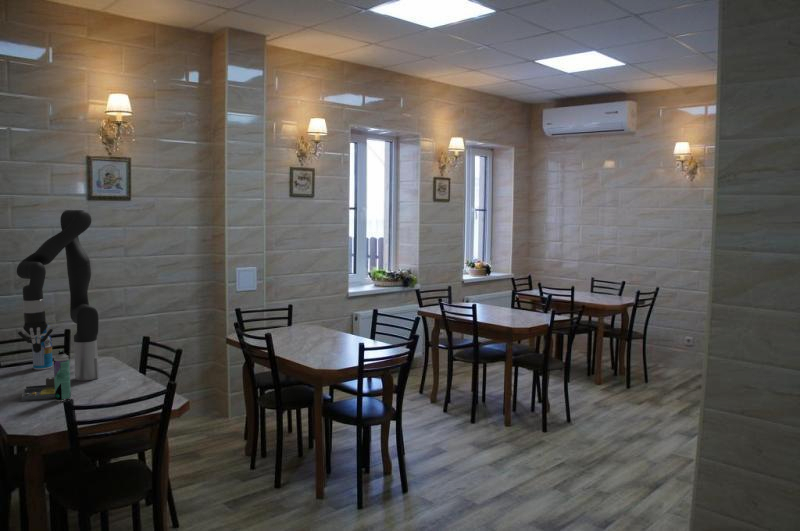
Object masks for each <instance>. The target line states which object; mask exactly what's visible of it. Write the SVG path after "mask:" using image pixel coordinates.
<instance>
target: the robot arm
mask: <svg viewBox="0 0 800 531" xmlns="http://www.w3.org/2000/svg"><path fill="white" fill-rule="evenodd" d="M59 219H60V229H61V231H59V232H58V233H56V234H54V235H53V236H52V237H50V238H48V239H46V241H44V242H43V243H42V244H41V245H40V246H39V248H37V249H36V251H35V252H33V253H31V254H30V255H28V256H27V257H25V258H24V259H23V260H22V261H20V262H19V264H18V265H17V267H16V274H17V276H18V277H19V278H20V279H24V280H29V283H28V284H27V285H24V286H23V287H22V300H23V303H22V304H23V305H22V311H23V323H24V324H23V327H22V329H20V330H19V331H18V332H17V334H18V335H19V337H21V338H22V339H23V340H24V341H25V342H27V343H28V344H32V345H33V351H34V352H35V353H39V352H40V351H41V349H42V348H41V343H42V342H44V341H45V340H46V339H47V338H48V336H49V335H50V336H51V334H52V332H53V331H54V328H53V327H50V326H49V325H48V323H47V320H46V308H45V307H46V305H45V300H44V292H43V288H44V286H45V285H44V284H45V279H46V272H47V271H46V267H45V266H46V265H49V264H50V263H51V262H53V260H54V259H56V257H57V256H58V255H59V254H60V253H61V252H62V251H63V250H64V249H65V257H66V269H67V270H66V271H67V278H68V287H69V295H70V300H69V302H70V303H69V304H70V307H69V310H70V311H69V313H70V314H69V316H70V319H71V321H72V322H73V323H74V324H76V333H75V334H74V335H73V351H74V352H73V353H74V377H75V378H74V379H75V380H76V381H84V382H86V381H92V380H97V379H98V378H99V375H100V373H99V355H98V334H99V322H100V321H99V313H98V310H97V308H96V307H94V306H92V305H90V302H89V296H88V295H89V294H88V291H89V286H90V282H91V277H92V269H91V267H92V266H91V260H90V258H89V256H88V254H87V253H86V251H85V249H84V248H83V246H82V245H81V242H80V239H79V236H80V235H82V234H83V233H84V232H85V231H87V230H88V229H89V228H90V226H91V224H92V216H91V214H90V213H89V212H88V211H86V210H84V209H65V210H64V211H63V212H62V213H61V216H60V218H59ZM47 325H48V326H49V327H48V326H47ZM45 329H47V330H46V332H47V334H46V335H45V336H44V337H43V338H42V339H41V334H42V333H43V332H44V331H45ZM26 333H27V334H28V335H29V336H30V337H29V336H28V335H27V334H26ZM36 335H37V342H36Z"/></svg>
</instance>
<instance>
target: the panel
mask: <svg viewBox="0 0 800 531" xmlns="http://www.w3.org/2000/svg"><path fill="white" fill-rule="evenodd" d="M23 390H24V391H23V393H22V395H21V402H28V401H36V400H37V401H38V400H39V401H40V400H48V399H51V400H52V399H55V387H46V384H42V385H41V384H40V385H39V384H38V385H29V386H25V388H24V389H23Z"/></svg>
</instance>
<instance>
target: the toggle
mask: <svg viewBox="0 0 800 531" xmlns="http://www.w3.org/2000/svg"><path fill="white" fill-rule="evenodd" d="M45 385H46V387H55V379H54V377H52V376H50V377H46V379H45Z"/></svg>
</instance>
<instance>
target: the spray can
mask: <svg viewBox="0 0 800 531" xmlns="http://www.w3.org/2000/svg"><path fill="white" fill-rule="evenodd" d="M70 365H71V364H70V356H69V354H68V355H67V354H66V353H65V351H64V350H63V349H59V350H58V352H57V354H56V355H55V356H54V357H53V374H54V375H53V376H54V379H55V398H54V399H55V402H57V403H63V402H62V400H63V401H64V399H70V400H72V399H71V398H72V394H71V392H72V391H71V371H70V370H71V369H70ZM60 401H61V402H60ZM64 402H65V401H64Z"/></svg>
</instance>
